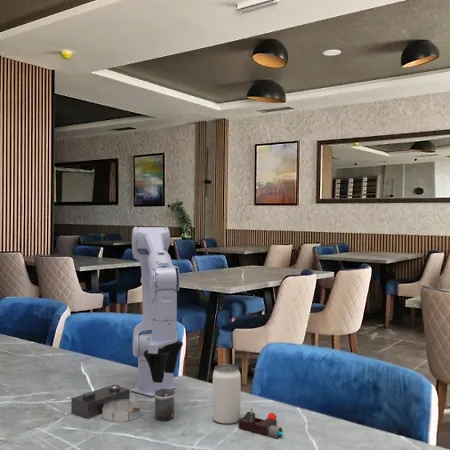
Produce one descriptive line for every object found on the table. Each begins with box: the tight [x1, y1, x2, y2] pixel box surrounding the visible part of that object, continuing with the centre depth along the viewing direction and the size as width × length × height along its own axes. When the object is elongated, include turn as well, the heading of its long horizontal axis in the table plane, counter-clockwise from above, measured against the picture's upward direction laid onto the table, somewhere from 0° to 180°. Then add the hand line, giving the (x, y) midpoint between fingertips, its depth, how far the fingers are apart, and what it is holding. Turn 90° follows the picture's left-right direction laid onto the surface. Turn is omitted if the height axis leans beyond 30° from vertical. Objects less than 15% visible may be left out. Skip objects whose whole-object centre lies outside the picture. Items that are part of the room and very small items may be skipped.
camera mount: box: [70, 384, 141, 423], centre depth 129 cm, size 13×15×4 cm
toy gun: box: [237, 407, 285, 440], centre depth 120 cm, size 10×12×5 cm
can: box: [211, 363, 242, 425], centre depth 125 cm, size 6×6×12 cm
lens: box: [154, 389, 176, 422], centre depth 125 cm, size 5×5×6 cm
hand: (163, 377), depth 125 cm, fingers open, 7 cm apart
